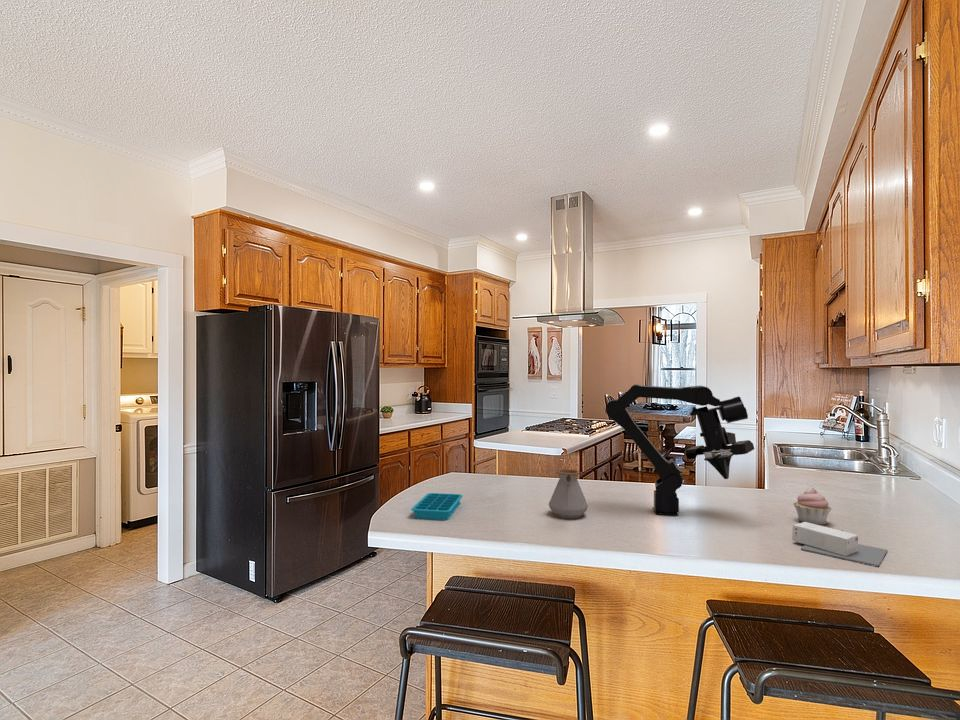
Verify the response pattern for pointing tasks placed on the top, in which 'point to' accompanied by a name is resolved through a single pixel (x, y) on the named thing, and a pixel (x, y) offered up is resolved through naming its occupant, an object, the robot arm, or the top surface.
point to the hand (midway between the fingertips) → (726, 478)
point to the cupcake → (812, 507)
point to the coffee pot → (568, 496)
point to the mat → (855, 554)
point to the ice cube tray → (437, 506)
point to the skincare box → (825, 538)
